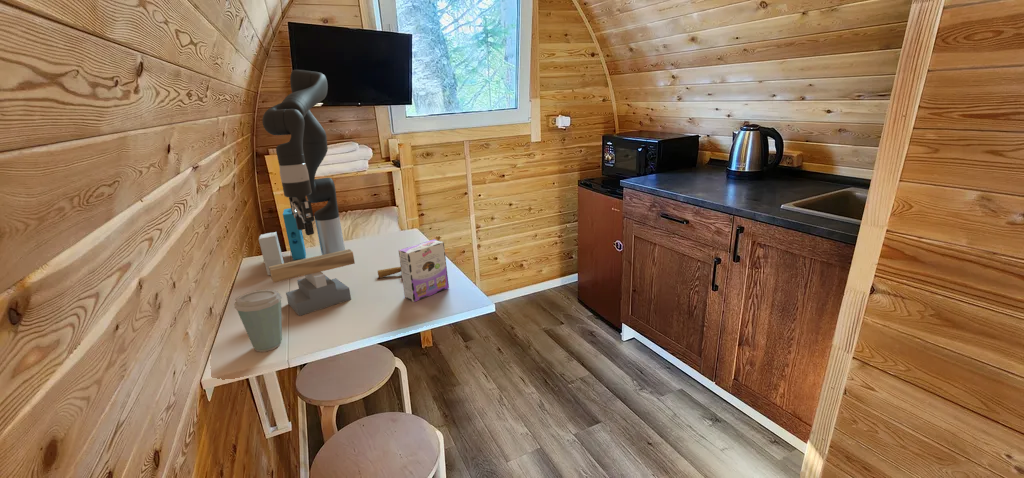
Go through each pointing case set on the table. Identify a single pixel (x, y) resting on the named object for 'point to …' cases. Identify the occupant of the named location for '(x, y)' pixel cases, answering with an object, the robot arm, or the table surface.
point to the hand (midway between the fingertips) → (305, 231)
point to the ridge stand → (317, 293)
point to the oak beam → (311, 265)
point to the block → (294, 236)
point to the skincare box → (270, 250)
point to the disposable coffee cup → (261, 318)
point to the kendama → (388, 271)
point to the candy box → (423, 269)
